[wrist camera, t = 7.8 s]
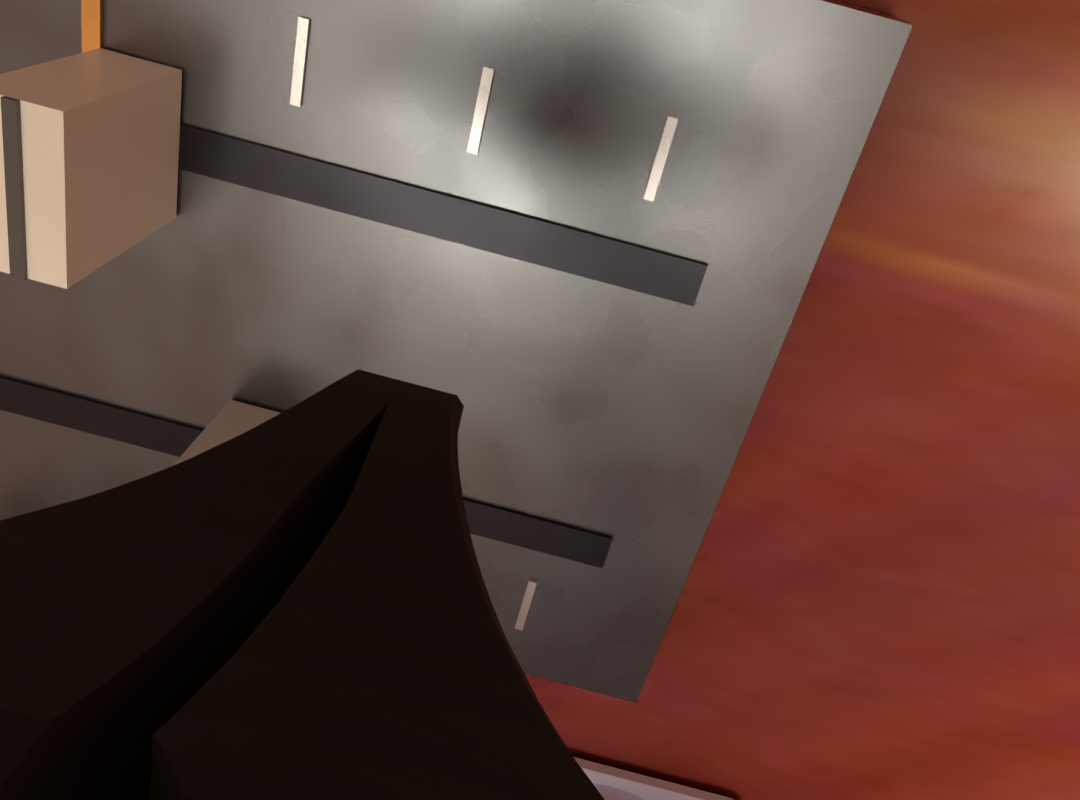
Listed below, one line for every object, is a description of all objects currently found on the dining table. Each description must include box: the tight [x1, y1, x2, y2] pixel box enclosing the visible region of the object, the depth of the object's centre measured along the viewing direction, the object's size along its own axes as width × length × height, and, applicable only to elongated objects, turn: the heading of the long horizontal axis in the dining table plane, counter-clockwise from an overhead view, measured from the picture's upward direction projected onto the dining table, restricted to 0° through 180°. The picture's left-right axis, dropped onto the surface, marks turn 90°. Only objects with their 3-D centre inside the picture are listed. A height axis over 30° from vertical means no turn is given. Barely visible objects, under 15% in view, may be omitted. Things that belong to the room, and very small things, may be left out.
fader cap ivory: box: [0, 48, 182, 289], centre depth 17 cm, size 3×2×4 cm, turn 167°
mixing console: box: [0, 0, 913, 702], centre depth 20 cm, size 17×21×2 cm
